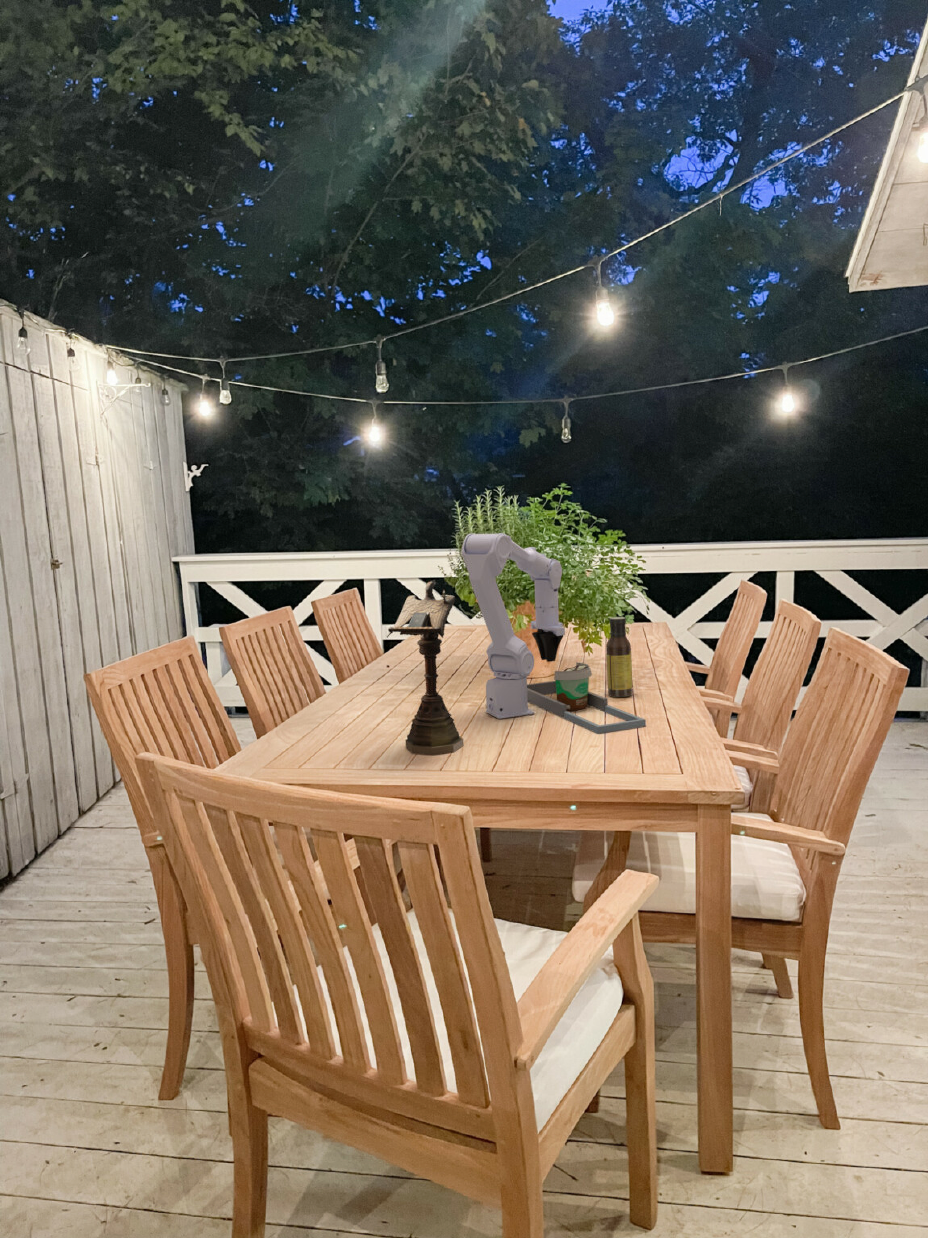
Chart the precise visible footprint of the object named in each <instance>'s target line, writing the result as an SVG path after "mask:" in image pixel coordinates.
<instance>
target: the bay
mask: <svg viewBox="0 0 928 1238" xmlns="http://www.w3.org/2000/svg"><path fill="white" fill-rule="evenodd" d="M605 713H607V714H609V715H611V716H614V717H616V718H619V719H621V720H624V721H618V722H613V723H607V724H597V723H595V722H593V721H591V720H588V719H586V718H584V717H581V716H579V715H576V714H574V713H572V712H568V711H567V712H564V718H563V719H565V720H566V721H569V722H571V723H573V724H576V725H578V726H580V727H581V728H584V729H587V730H589V731H591V732H592V733H595V734H597V735H599V734H600V735H601V734H607V733H611V732H612V733H613V732H619V731H625V730H626V731H627V730H632V729H636V728H637V729H638V728H644V727H647V726H646V723H647V721H646V719H645V718H642V717H640V716H639V715H638V716H637V715H635V714H632V713H630V712H626V711H625V710H622V709H620V708H616V707H615V706H612V705H609V704H608V705H607V706H605Z"/></svg>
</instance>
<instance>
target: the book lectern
mask: <svg viewBox="0 0 928 1238" xmlns="http://www.w3.org/2000/svg"><path fill="white" fill-rule="evenodd" d="M425 585H426V586H425V588H424V590H425V596H424V598H423V599H418V598H417V595H408V596H407V597H406V600H405V602H404V604H403V606H402V609H401V612H400V614H399V615H398V617H397V619H396V622H395V624H394V625H393V627H392V626H390V627H389V628H388V629H387V630H388V634H387V636H386V638H389V636H390V635H392V634H393V633H399V635H400V636H403V635H405V636H414V637H416V636H420V639H418V640H417V642H416V644H417V645H418V647H419V649H418V652H419V654H420V655H422V656H423V658H424V668H425V669H424V672H425V673H424V675H423V677H424V678H425V690H426V691H425V692H424V695H422V696H421V698H420V701H421V702H420V704H419V707H418V710H417V711H416V714H414V715H413V717H414V718H413V719H412V720H411V722H412V723H411V725H410V729H409V733H408V734H407V736H406V738H407V739H405V748H406V749H407V750H408V751H409V752H410V753H411V754H414V755H415V754H416V755H427V756H439V755H444V754H451V753H454V752H456V751H458V750H460V749H461V748H462V747H464V742H465V741H464V738H463V737H462V736H460V734H459V732H458V731H457V727H456V724H455V722H454V721H455V718H453V717H452V714H451V713H450V712H449V710H448V708H447V707H446V704H445V702H444V697H443V696H442V695H440V693H439V692H438V691H437V683H438V681H437V678H438V677H439V674H438V673H437V655H439V654H441V644H442V643H443V641H442V639H443V638H444V636H445V627H446V622H447V621H448V616H449V615H450V612H451V610H452V609H453V606H454V604H455V601H456V597H455V596H454V595H451V594H450V595H449V594H446V591H445V589H443V590H442V595H441V594H440V597H441V599H436V598H435V596H434V593H433V592H434V591H433V590H434V588H435V586H436V580H435V579H433V580H430V581H428V582H427V583H426V584H425ZM407 624H408V625H407ZM405 625H407V626H405ZM439 636H440V637H441V638H442V639H441V638H439Z"/></svg>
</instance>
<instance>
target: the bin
mask: <svg viewBox="0 0 928 1238" xmlns="http://www.w3.org/2000/svg"><path fill="white" fill-rule="evenodd" d="M550 694H556V681H555V680H551V681H549V680H548V681H541V682H533V683H527V698H528V703H530V704H532V705H534V706H536V707H539V708H540V709H542V710H544V711H547V712H549V713H552V714H553V715H555V716H558V717H561V718H563V719H564V712H567V711H566V704H564V703H561V702H559V701H557V699H554V698H552V697H549V696H547V695H550ZM608 701H609V700H608V698H607V697H604V696H602V695H599V694H596V693H594V692H590V690H588V704H587V706H590V707H592V708H595V709H597V710H598V711H599V710H600V711H601V712H605V706H607V705H609V704H608ZM605 713H606V712H605Z"/></svg>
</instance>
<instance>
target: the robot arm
mask: <svg viewBox="0 0 928 1238" xmlns="http://www.w3.org/2000/svg"><path fill="white" fill-rule="evenodd" d="M460 553H461V556H462V559H463V563H464V564H465V568H466V570H467V572H468V579H469V582H470V584H471V585H470V586H471V588H472V591H473V593H474V595H475V598H476V601H477V604H478V607H479V610H480V613H481V614H482V617H483V621H484V623H485V626H486V629H487V631H488V633H489V637H490V639H491V642H490V644H489V645H488V646H487V649H486V654H487V661H488V667H489V669H490V671H491V672H492V673H493V677H494V678H490V679H488V680H487V681H486V684H485V701H486V704H485V705H486V709H485V713H487V714H489V715H491V716H493V717H494V718H497V719H507V718H514V717H522V716H527V715H529V716H530V715H534V714H535V713H536V712H535V711H534V710H532V709H530V708H529V705H528V703H529V702H528V698H527V684H528V677H530V675H531V673H532V671H533V669H534V666H535V658H534V653H533V652H532V651H531V650H530V649H529V648H528V645H527V643H526V642H525V641H523V640H522V639H521V638H519V637H518V636H516V634H515V632H514V629H513V626H512V622H511V620H510V618H509V614H508V611H507V609H506V607H505V604H504V603H505V602H504V600H503V598H502V594H501V592H500V590H499V587H498V583H497V581H496V577H498V576H500V575H501V574H502V572H503V570H504V568H505V566H506V563H507V561H508V560H511V561H513V562H515V565H516V567H517V568H518V569H519V570H520V571H522V572H524V573H526V574H528V575H529V577H530V580H531V581H532V582H534V606H535V608H534V609H535V620H531V621H530V629H531V630H536V631H534V632H532V633H531V635H532V637H533V639H534V640H535V643H536V646H537V648H538V653H539V656H540V660H542V661H545V660H546V662H547V663H550V662H556V658H557V654H558V650H559V648H560V647H559V646H560V643H561V641H562V639H563V638H564V636H566V628H565V627H564V626H563V625H564V624H563V622H560V621H559V620H560V619H559V618H560V617H559V616H560V615H559V589H560V586H561V578H562V575H563V568H562V564H561V563H560V562H559V560H558V559H555V558H548V557H547V555H546V554H544V553H541V552H539V551H537V548H536V547H535V546H529V547H525V548H523V547H521V546H520V545H519V544H517V543H516V542H515V541H513V540H512V537H511V535H507V534H506V533H503V532H499V533H468V534H466V536H465V538H464V540H463V542H462V546H461V550H460Z"/></svg>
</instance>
